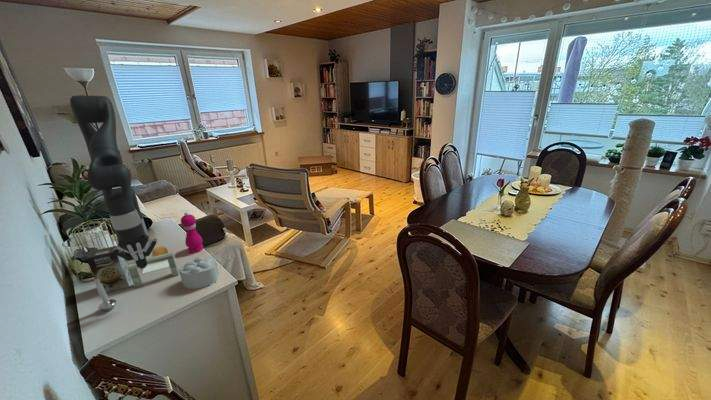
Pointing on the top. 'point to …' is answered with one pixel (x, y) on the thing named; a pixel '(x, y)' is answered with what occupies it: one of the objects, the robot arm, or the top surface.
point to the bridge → (133, 266)
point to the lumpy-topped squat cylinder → (199, 273)
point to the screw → (104, 297)
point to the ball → (159, 251)
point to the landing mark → (156, 266)
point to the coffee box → (109, 269)
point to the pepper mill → (191, 233)
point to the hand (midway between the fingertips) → (143, 267)
